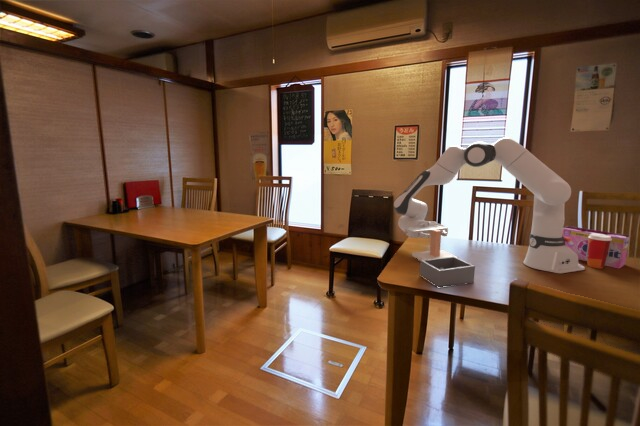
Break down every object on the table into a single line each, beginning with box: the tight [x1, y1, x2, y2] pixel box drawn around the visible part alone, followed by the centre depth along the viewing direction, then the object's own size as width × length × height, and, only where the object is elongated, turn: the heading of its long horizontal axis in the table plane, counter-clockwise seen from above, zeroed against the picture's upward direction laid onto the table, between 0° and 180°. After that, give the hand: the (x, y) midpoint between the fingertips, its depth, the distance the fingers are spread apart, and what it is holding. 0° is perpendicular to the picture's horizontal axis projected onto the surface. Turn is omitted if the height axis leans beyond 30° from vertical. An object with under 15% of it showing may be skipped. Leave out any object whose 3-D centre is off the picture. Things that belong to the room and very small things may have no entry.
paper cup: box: [586, 233, 612, 269], centre depth 136 cm, size 8×8×14 cm
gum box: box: [562, 225, 631, 269], centre depth 145 cm, size 24×8×14 cm, turn 33°
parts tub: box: [419, 255, 476, 287], centre depth 125 cm, size 16×12×7 cm
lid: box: [411, 229, 460, 262], centre depth 146 cm, size 16×12×15 cm
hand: (437, 235), depth 144 cm, fingers open, 8 cm apart
